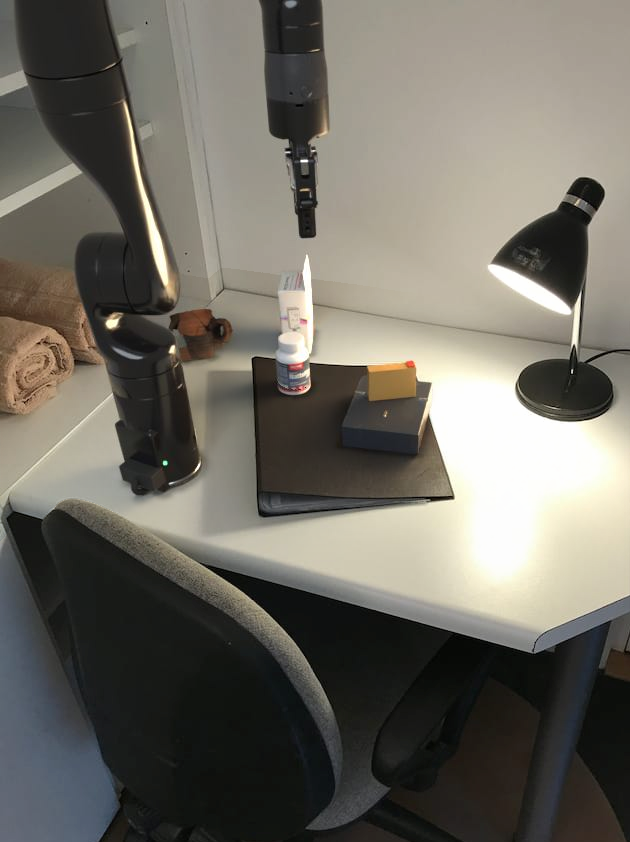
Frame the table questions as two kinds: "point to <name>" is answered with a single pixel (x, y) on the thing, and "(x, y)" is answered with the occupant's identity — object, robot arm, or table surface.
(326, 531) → the table surface
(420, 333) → the table surface
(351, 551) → the table surface
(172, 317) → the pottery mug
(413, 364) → the tap lever
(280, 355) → the pill bottle
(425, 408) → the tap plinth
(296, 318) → the ink cartridge box
